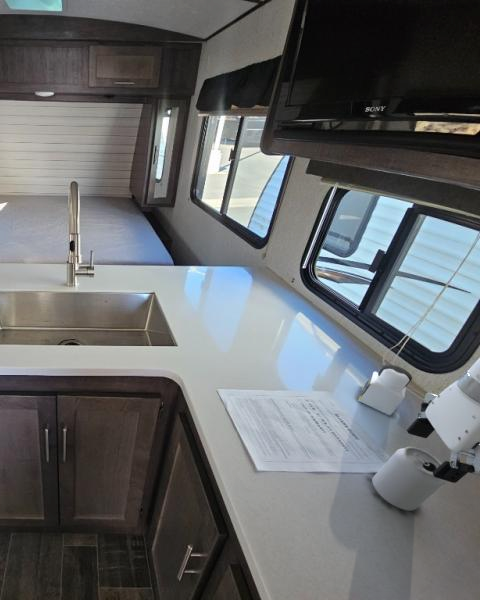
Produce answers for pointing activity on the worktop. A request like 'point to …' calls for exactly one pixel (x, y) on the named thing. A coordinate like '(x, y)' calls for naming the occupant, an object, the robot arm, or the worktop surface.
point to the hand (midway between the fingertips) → (428, 455)
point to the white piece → (386, 388)
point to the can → (408, 478)
